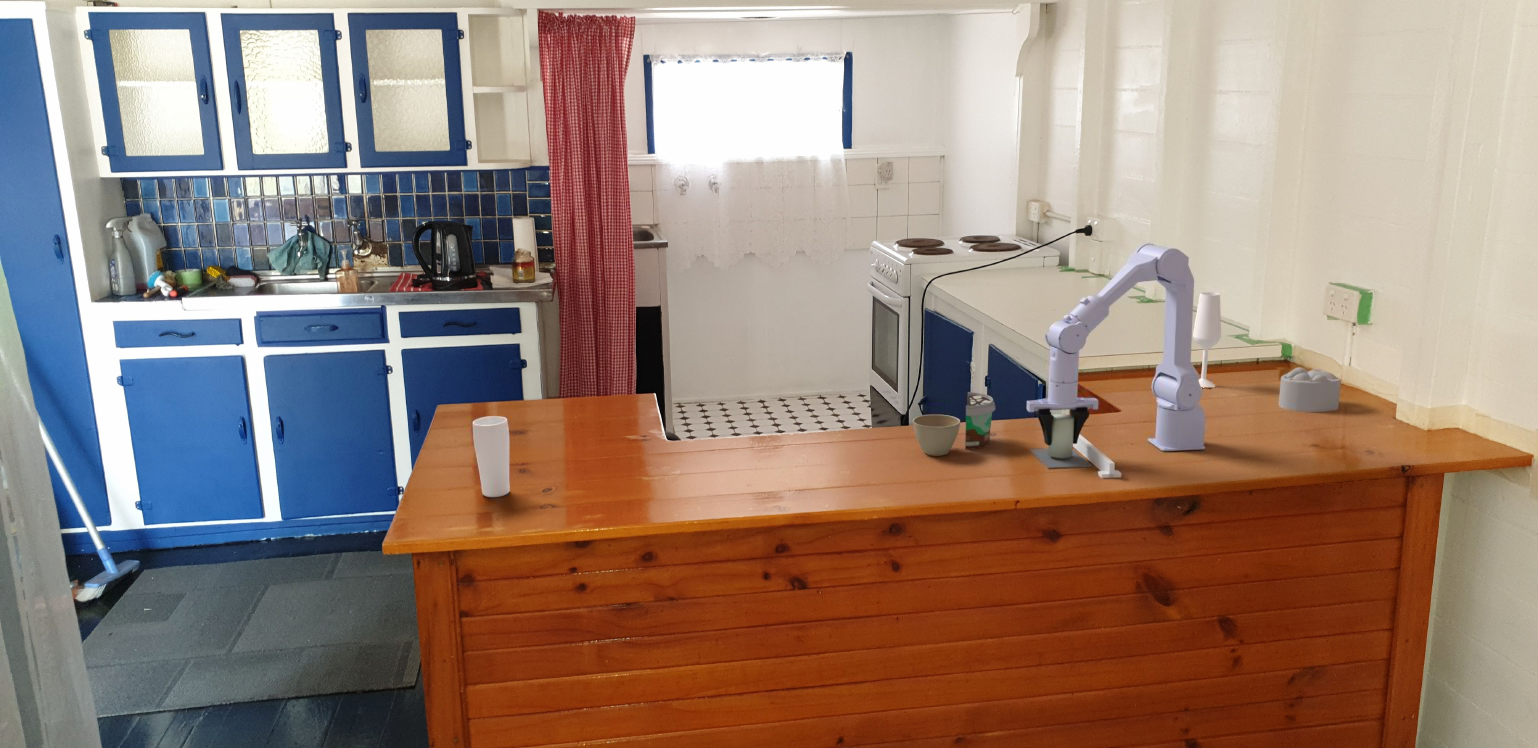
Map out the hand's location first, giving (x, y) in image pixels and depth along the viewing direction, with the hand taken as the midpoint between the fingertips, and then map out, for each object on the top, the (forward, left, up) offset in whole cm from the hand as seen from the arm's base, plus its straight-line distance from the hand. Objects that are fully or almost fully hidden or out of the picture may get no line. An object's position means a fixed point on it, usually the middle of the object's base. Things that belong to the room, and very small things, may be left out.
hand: (1060, 443), depth 233 cm
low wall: (-6, 0, -3) cm, 7 cm away
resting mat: (0, 0, -3) cm, 3 cm away
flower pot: (+25, -8, -4) cm, 26 cm away
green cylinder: (0, 0, -2) cm, 2 cm away
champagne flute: (-55, -52, -4) cm, 76 cm away
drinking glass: (+116, +5, -4) cm, 116 cm away
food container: (+14, -13, -4) cm, 19 cm away
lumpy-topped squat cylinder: (-70, -30, -4) cm, 77 cm away
